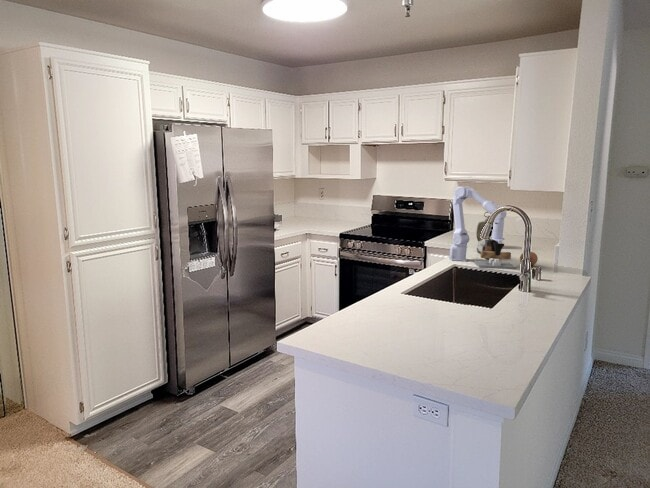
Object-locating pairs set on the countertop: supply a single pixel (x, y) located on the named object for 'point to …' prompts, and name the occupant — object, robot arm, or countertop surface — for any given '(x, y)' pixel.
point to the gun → (484, 246)
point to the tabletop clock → (481, 227)
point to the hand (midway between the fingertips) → (495, 253)
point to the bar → (492, 255)
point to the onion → (531, 258)
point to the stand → (494, 264)
